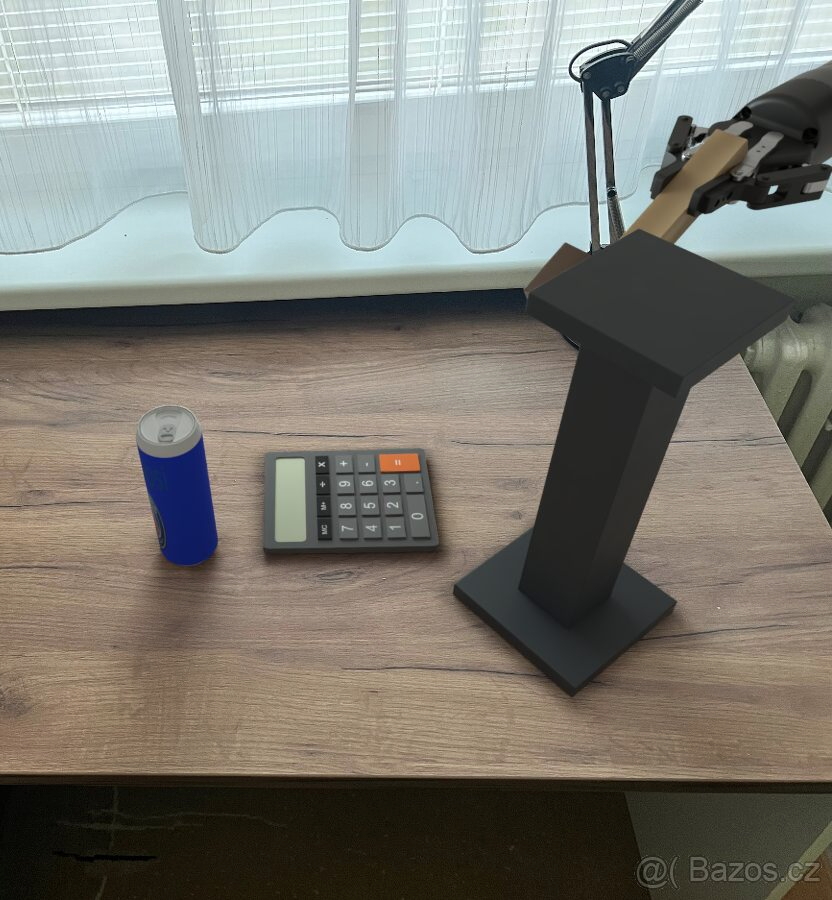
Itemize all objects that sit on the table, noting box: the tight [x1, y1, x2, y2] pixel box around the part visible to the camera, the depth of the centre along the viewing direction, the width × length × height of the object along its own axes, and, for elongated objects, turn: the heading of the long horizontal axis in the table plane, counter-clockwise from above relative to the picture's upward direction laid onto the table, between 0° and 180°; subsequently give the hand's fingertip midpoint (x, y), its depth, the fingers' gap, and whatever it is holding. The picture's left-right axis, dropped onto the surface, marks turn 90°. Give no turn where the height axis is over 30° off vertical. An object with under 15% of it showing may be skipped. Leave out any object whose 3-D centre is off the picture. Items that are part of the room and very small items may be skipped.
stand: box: [452, 229, 796, 699], centre depth 60 cm, size 12×12×30 cm
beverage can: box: [135, 404, 219, 567], centre depth 72 cm, size 5×5×15 cm
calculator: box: [262, 447, 440, 555], centre depth 79 cm, size 12×1×15 cm
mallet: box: [523, 129, 748, 299], centre depth 68 cm, size 8×19×4 cm
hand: (675, 197), depth 68 cm, fingers closed on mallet, 2 cm apart
